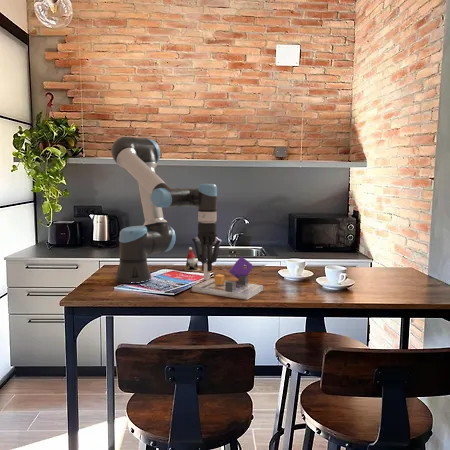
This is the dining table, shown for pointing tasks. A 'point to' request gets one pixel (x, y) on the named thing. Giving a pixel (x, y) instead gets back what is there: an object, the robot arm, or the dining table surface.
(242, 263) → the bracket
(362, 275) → the dining table surface
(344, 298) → the dining table surface
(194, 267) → the figurine
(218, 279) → the handle
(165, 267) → the dining table surface
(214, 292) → the panel
